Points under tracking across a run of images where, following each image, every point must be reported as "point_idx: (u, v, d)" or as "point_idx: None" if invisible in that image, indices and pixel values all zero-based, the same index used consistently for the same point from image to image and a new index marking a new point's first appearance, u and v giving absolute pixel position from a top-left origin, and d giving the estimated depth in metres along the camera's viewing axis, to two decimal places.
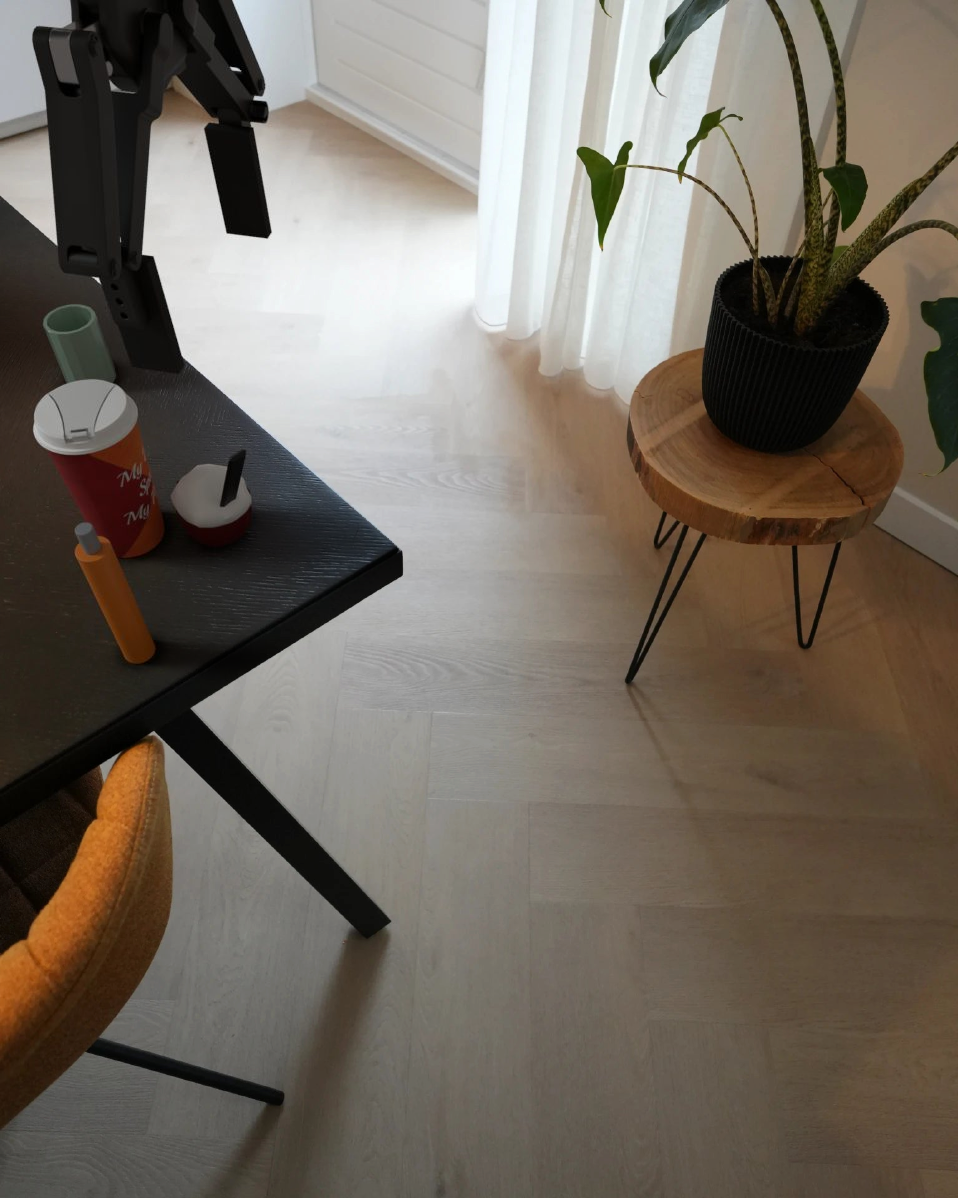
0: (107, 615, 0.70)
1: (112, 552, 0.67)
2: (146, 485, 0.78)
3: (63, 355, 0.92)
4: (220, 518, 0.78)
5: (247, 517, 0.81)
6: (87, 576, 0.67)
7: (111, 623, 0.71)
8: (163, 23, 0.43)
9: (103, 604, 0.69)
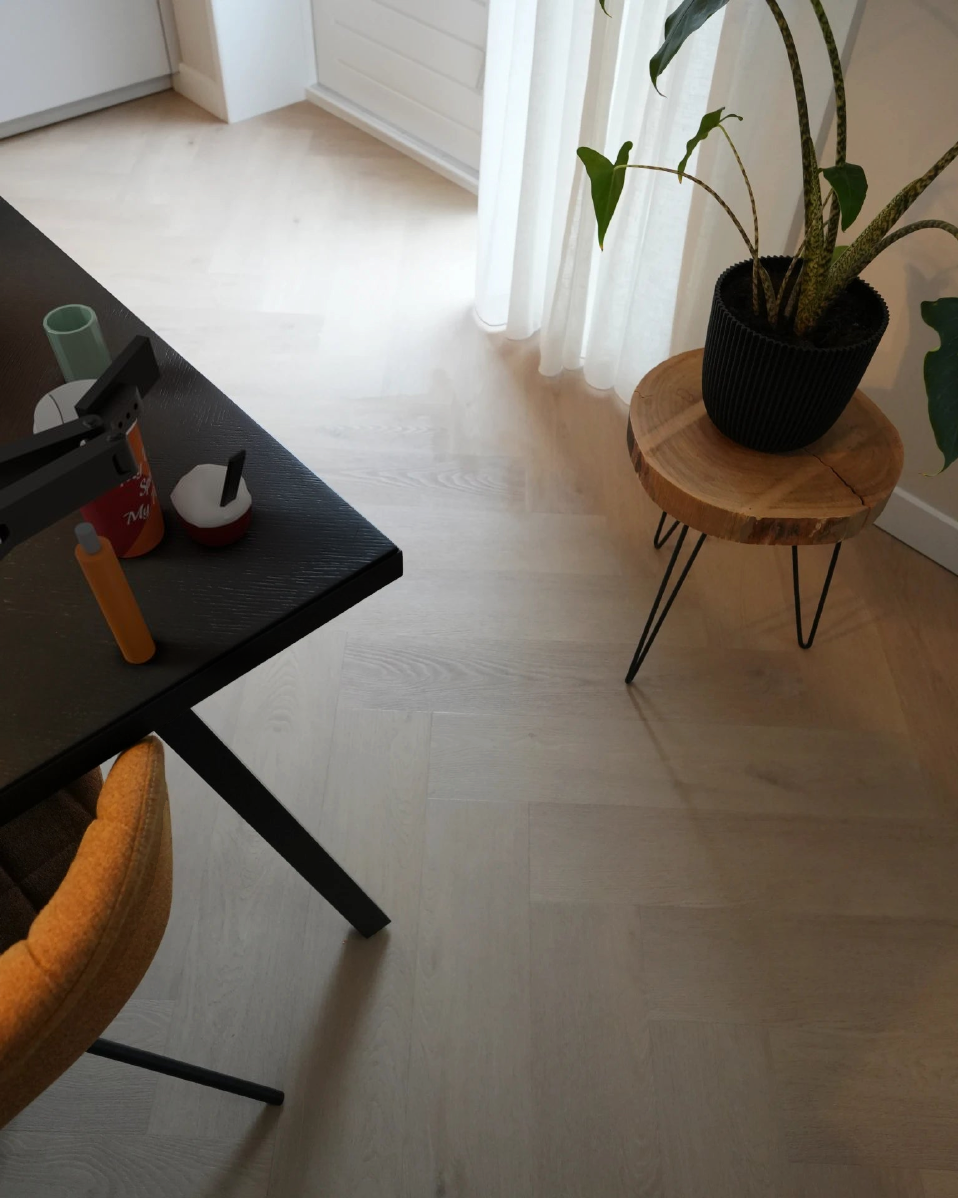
0: (107, 615, 0.70)
1: (112, 552, 0.67)
2: (146, 485, 0.78)
3: (63, 355, 0.92)
4: (220, 518, 0.78)
5: (247, 517, 0.81)
6: (87, 576, 0.67)
7: (111, 623, 0.71)
8: None
9: (103, 604, 0.69)
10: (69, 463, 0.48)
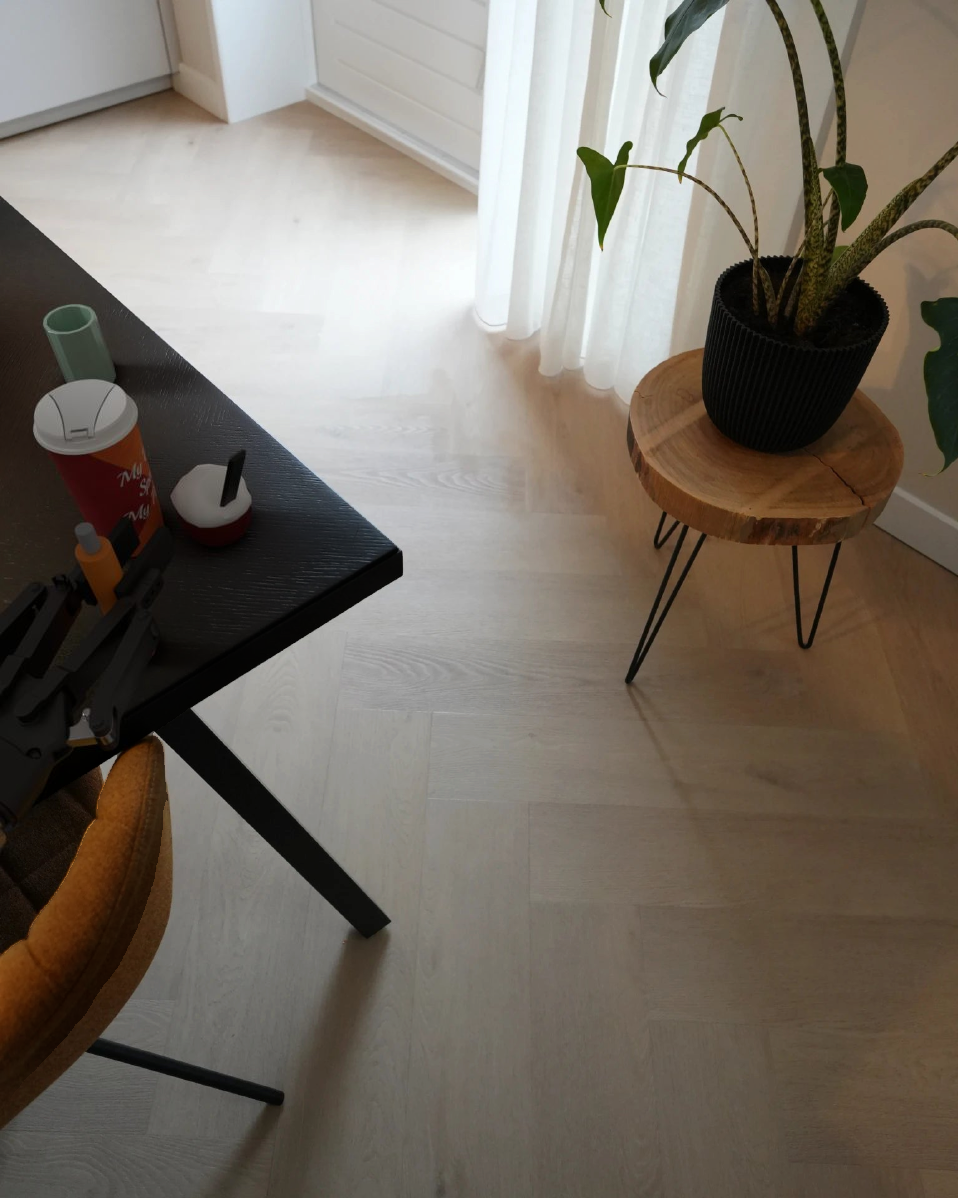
0: None
1: (112, 552, 0.67)
2: (146, 485, 0.78)
3: (63, 355, 0.92)
4: (220, 518, 0.78)
5: (247, 517, 0.81)
6: (87, 576, 0.67)
7: None
8: None
9: (103, 604, 0.69)
10: (129, 646, 0.65)
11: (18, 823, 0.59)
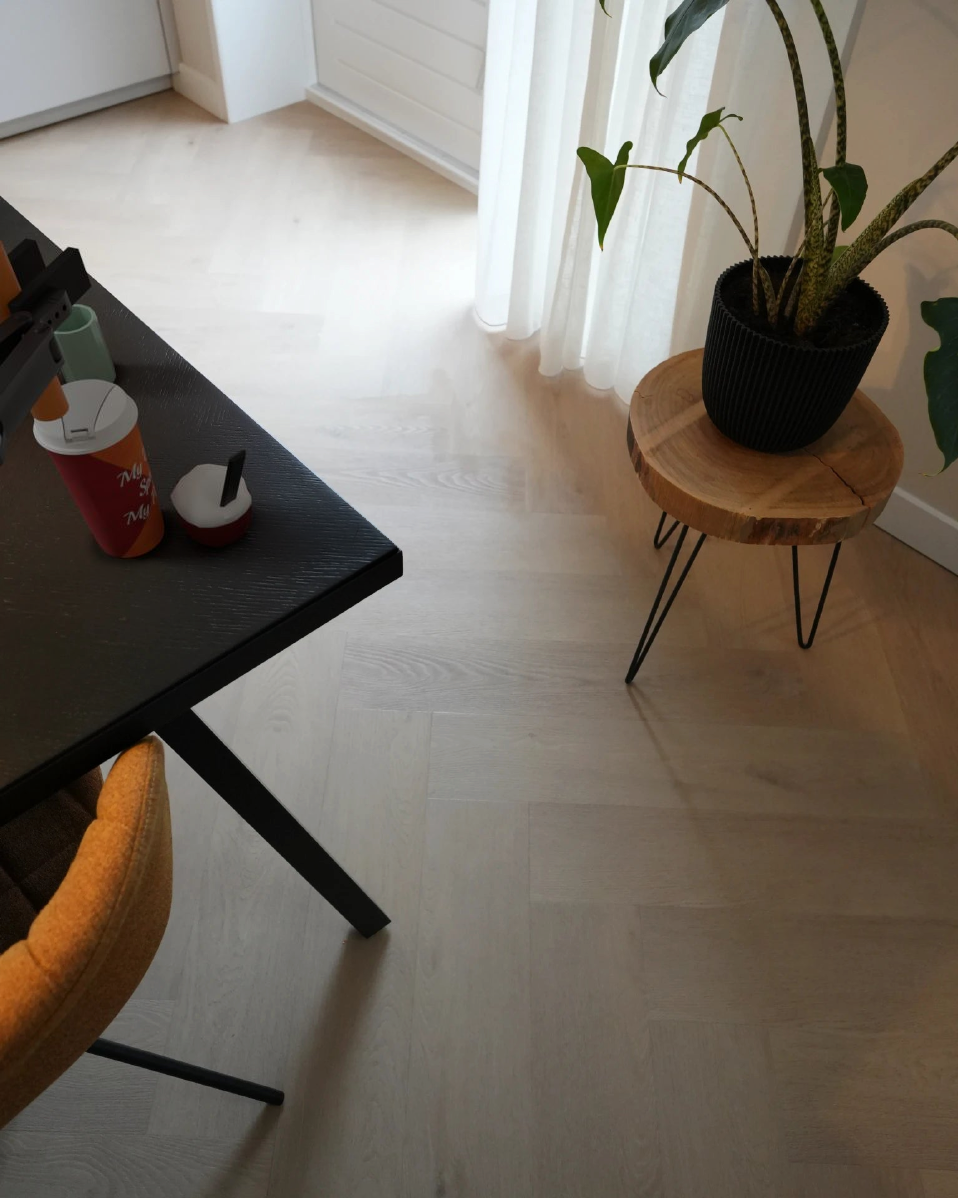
0: None
1: (4, 253, 0.56)
2: (146, 485, 0.78)
3: (63, 355, 0.92)
4: (220, 518, 0.78)
5: (247, 517, 0.81)
6: None
7: None
8: None
9: None
10: (20, 356, 0.54)
11: None
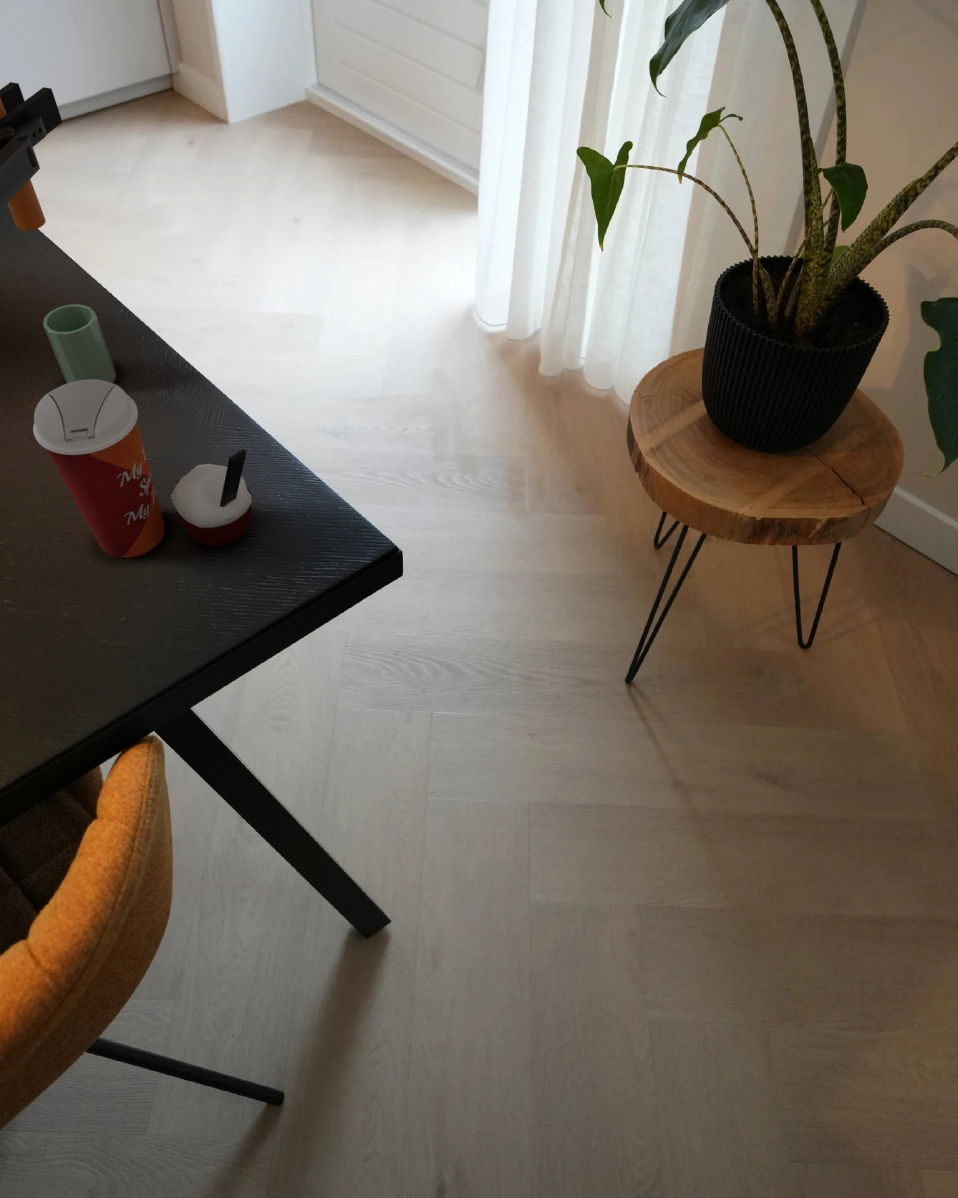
0: None
1: None
2: (146, 485, 0.78)
3: (63, 355, 0.92)
4: (220, 518, 0.78)
5: (247, 517, 0.81)
6: None
7: None
8: None
9: None
10: (5, 154, 0.72)
11: None
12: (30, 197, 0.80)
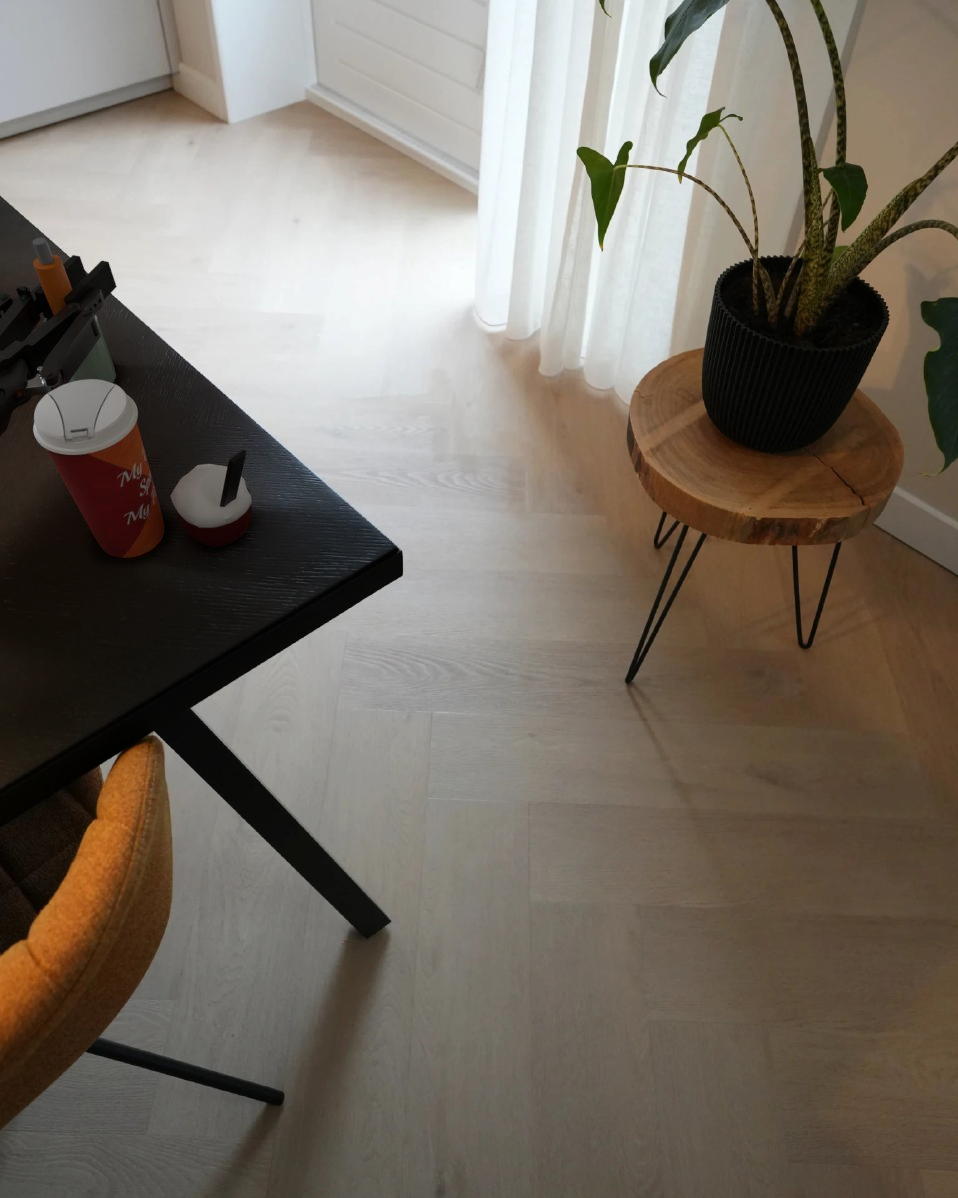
0: None
1: (62, 265, 0.87)
2: (146, 485, 0.78)
3: None
4: (220, 518, 0.78)
5: (247, 517, 0.81)
6: (43, 285, 0.87)
7: None
8: None
9: None
10: (74, 331, 0.85)
11: None
12: None
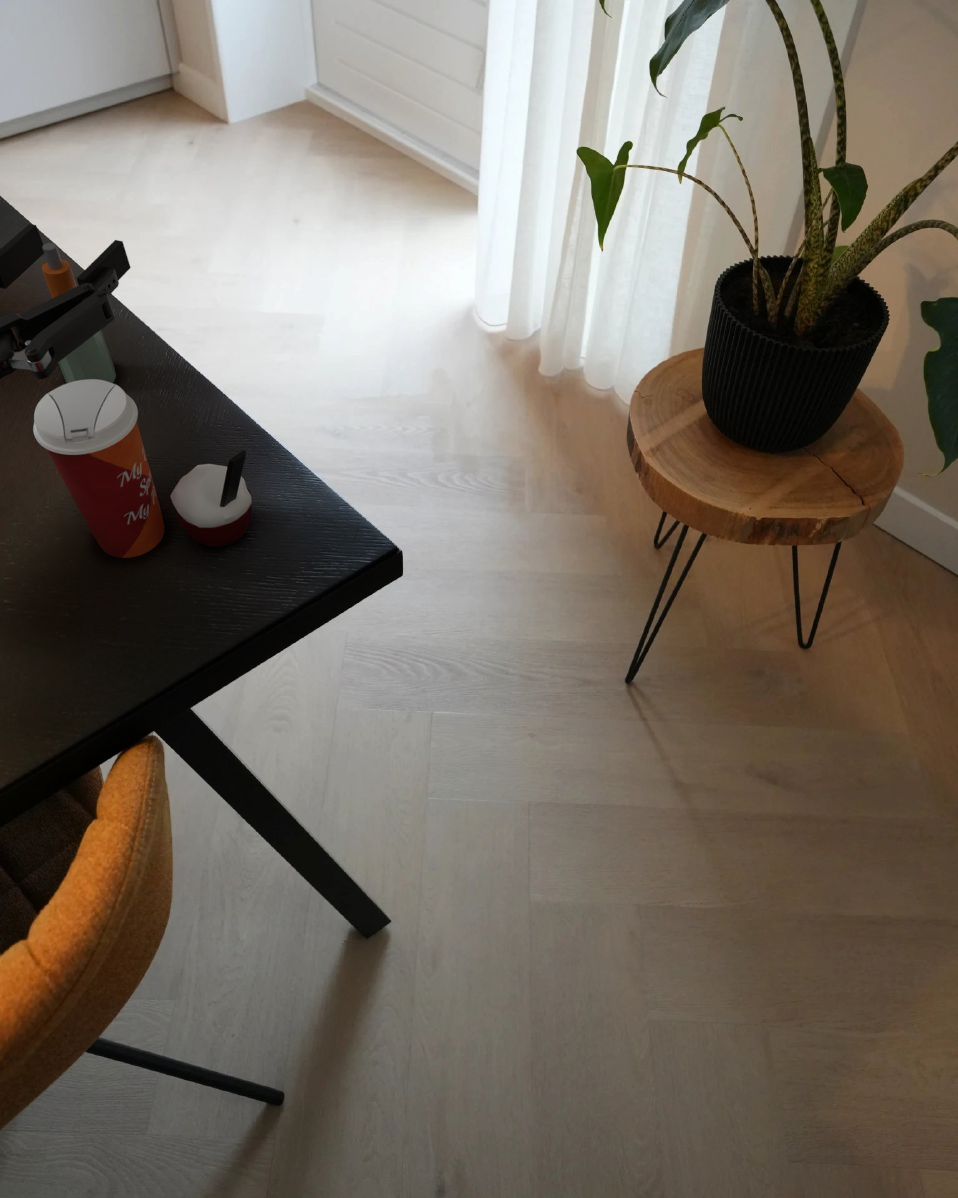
0: None
1: (71, 271, 0.87)
2: (146, 485, 0.78)
3: None
4: (220, 518, 0.78)
5: (247, 517, 0.81)
6: (51, 289, 0.87)
7: None
8: None
9: None
10: (79, 310, 0.82)
11: None
12: None
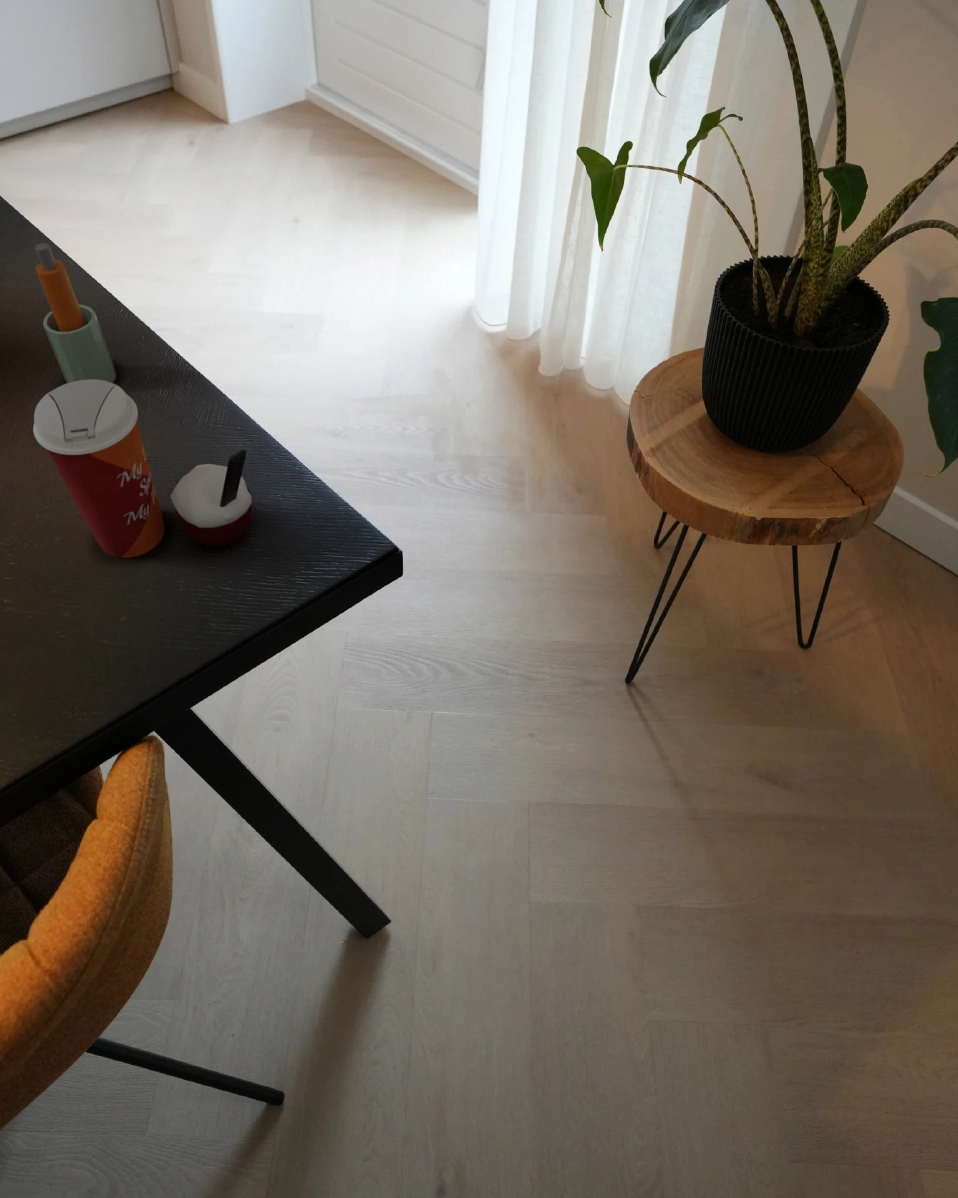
0: (62, 331, 0.91)
1: (64, 271, 0.87)
2: (146, 485, 0.78)
3: (63, 355, 0.92)
4: (220, 518, 0.78)
5: (247, 517, 0.81)
6: (45, 290, 0.88)
7: None
8: None
9: (59, 319, 0.90)
10: None
11: None
12: None
